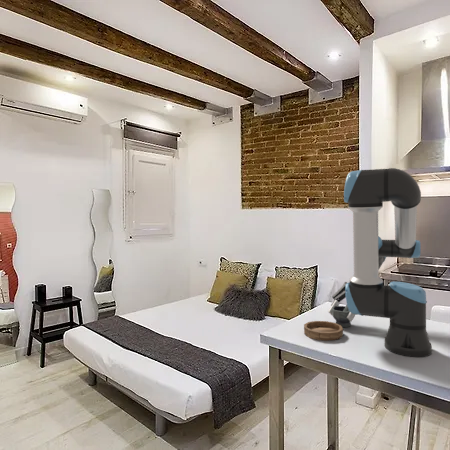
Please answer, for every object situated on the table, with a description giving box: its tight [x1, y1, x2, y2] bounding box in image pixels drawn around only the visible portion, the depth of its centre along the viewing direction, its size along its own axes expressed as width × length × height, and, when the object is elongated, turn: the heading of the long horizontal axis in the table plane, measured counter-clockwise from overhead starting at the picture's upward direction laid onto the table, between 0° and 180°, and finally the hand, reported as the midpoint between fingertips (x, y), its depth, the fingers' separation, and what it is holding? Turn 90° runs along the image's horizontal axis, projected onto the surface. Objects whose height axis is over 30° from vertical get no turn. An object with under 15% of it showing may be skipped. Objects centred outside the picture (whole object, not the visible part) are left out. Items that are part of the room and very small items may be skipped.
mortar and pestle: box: [330, 304, 356, 328], centre depth 153 cm, size 11×9×12 cm
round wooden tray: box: [303, 320, 344, 342], centre depth 143 cm, size 15×15×3 cm
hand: (339, 316), depth 152 cm, fingers closed on mortar and pestle, 10 cm apart
